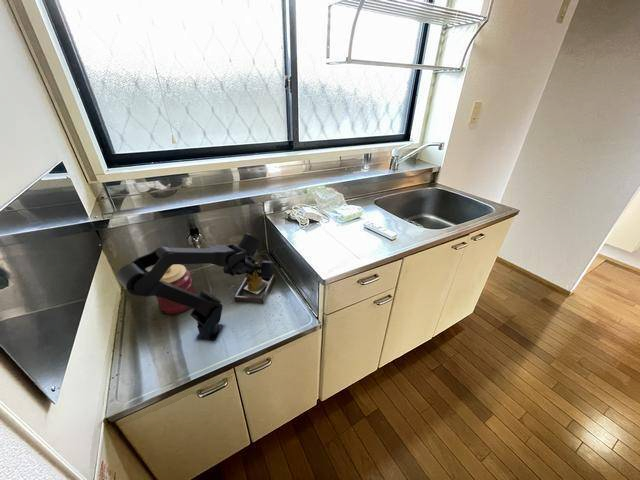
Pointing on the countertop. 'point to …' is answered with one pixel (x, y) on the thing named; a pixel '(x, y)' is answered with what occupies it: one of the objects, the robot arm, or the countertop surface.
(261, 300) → the tray
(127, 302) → the countertop surface
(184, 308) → the kitchen canister
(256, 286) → the condiment
